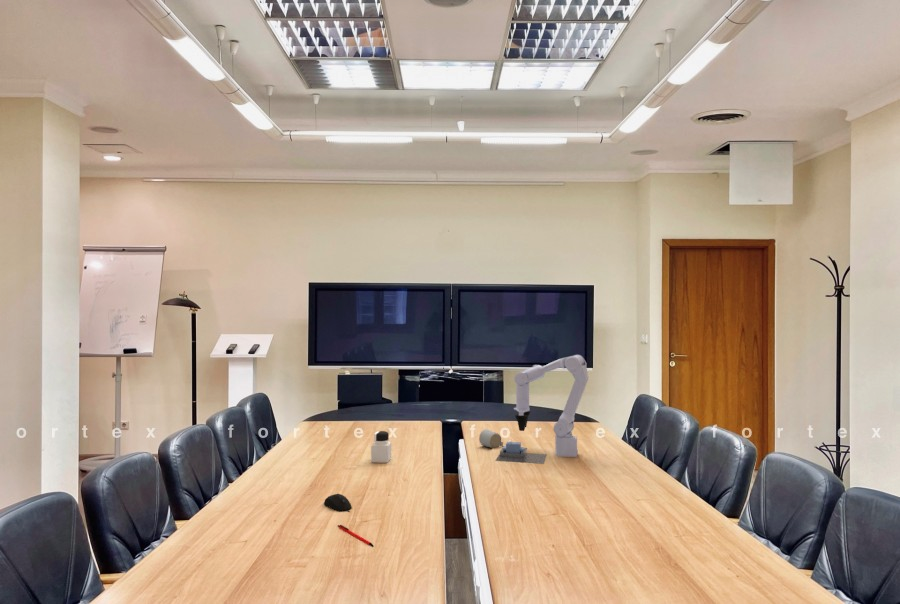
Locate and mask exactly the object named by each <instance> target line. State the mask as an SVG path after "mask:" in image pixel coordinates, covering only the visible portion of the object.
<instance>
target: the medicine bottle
mask: <svg viewBox="0 0 900 604" xmlns="http://www.w3.org/2000/svg"><path fill="white" fill-rule="evenodd" d="M389 438H390V437H389V432H388V431H385V430H378V431H376V432H374V433H373V443H372V444H371V445H370V449H371V450H370V462H371V463H381V464H382V463H383V464H386V463H389V462H390V460H391V459H392V441H389Z"/></svg>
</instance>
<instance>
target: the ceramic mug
mask: <svg viewBox="0 0 900 604" xmlns="http://www.w3.org/2000/svg"><path fill="white" fill-rule="evenodd" d="M478 437H479V438H478V440H479V443H480V445H481V446H483V447H487V448H491V449H494V448H499V447H500V446H502V447H504V446H503V445H504V441H502V436H501V435H500V433H498V432H496V431H492V430H490V429H488V428H487V429H486V428H484V429H483V430H482V431H480V434H479V436H478Z"/></svg>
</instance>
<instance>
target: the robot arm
mask: <svg viewBox="0 0 900 604" xmlns="http://www.w3.org/2000/svg"><path fill="white" fill-rule="evenodd" d="M587 364H588V363H587V362H586V360H585V358H584V357H583V356H582V355H581V354H574V355H570V356H566V357H562V358H559V359H557V360H553V361H552V362H549V363H548V364H546V365H540V364H533V365H532V366H531V367H530V368H528V369H527V368H525V369H523V371H518V372H517V373H516V374H515V375H514V380H513V381H514V382H515V383H516V385H515V386H516V388H515V389H516V390H515V391H516V393H515V394H516V398H515V399H516V400H515V401H516V406H515V407H513V410H514V411H517V413H516V414H515V415H514V416H515V419H516V422H517V425H518V431H519V432H520V431H521V432H524V431H525V429H526V428H527V425H528V421H529V420H528V419H529V415H530V413H531V410H530V382H531V383H532V382H534V381H537V380H539V379H541V378H544V376H545V374H546V373H548V372H551V371H552V372H553V371H554V370H557V369H559V368H561V369H564V370H565V369H566V370H567V371H568V372H569V373H570V374H571V375H572V377H573V379H574V382H573V384H572V387H571V389H570V392H569V395H568V398H567V400H566V402H565V403H566V404H565V405H564V409H563V411H562V412H561V415H560V416H559V418H558V421H557V422H555V423H554V425H553V432H554V434H555V436H554V437H555V439H554V440H555V444H554V445H555V448H554V449H555V455H556V456H558V457H563V458H564V457H565V458H567V457H569V458H571V457H573V458H577V457H578V452H579V451H578V450H579V449H578V436H576V435H573V433H572V431H573V430H574V427H575V424H574V422H575V415H576V412H577V410H578V407H579V405H580V402H581V399H582V397H583V393H584V391H585V389H586V386H587V383H588V381H589V375H588V368H587Z"/></svg>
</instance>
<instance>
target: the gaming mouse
mask: <svg viewBox="0 0 900 604" xmlns="http://www.w3.org/2000/svg"><path fill="white" fill-rule="evenodd" d="M323 505H324V506H325V507H326V508H329V509H331V510H333V511H336V512H338V513H339V512H348V513H351V510H352V509H353V507H352V504H351V502H350V500H349V499H348V498H347V497H346V496H345V495H344V494H340V493H335V494H331V495H328V496H327V497H326V498H325V499H324V502H323Z"/></svg>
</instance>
